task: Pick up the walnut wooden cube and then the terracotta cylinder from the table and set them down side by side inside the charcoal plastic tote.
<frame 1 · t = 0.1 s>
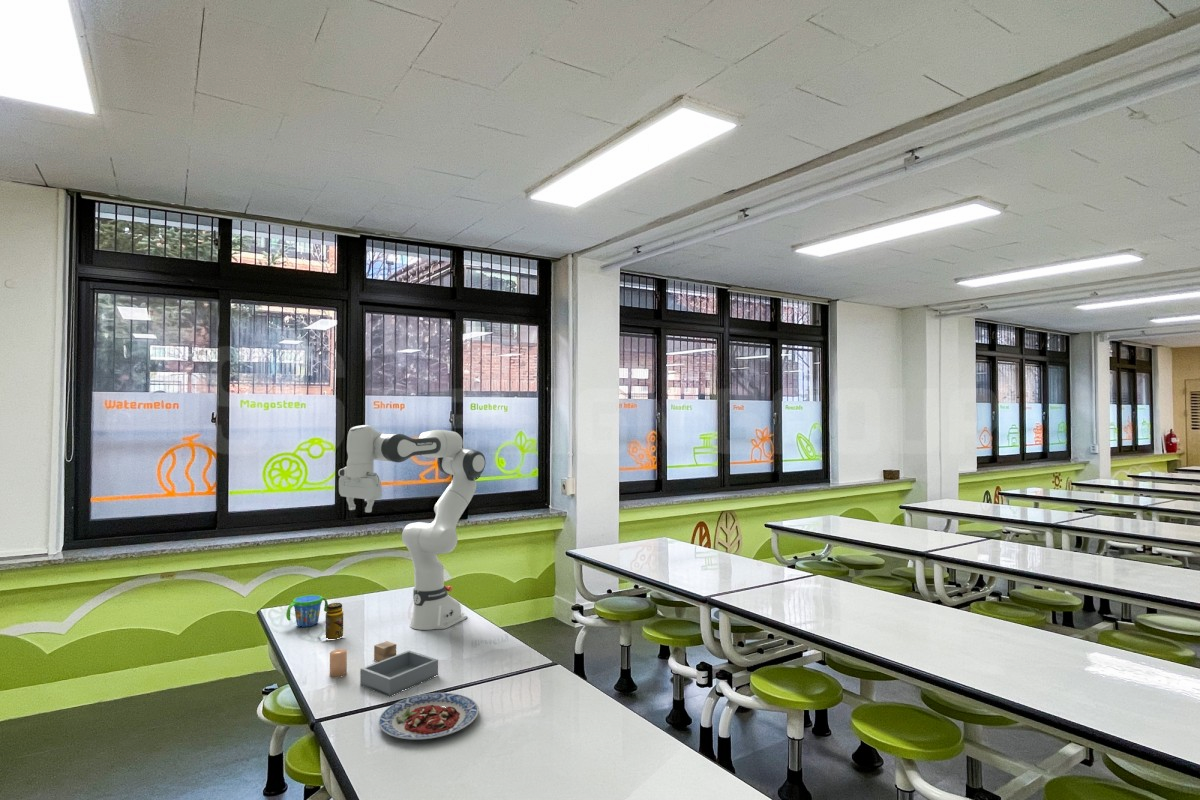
hand: (360, 511, 225), 48 cm above the table, tool pointing down, fingers open, 8 cm apart
tote: (399, 680, 197), on the table
snack cup: (307, 625, 250), on the table
ceramic plate: (429, 722, 171), on the table
walnut cube: (385, 659, 214), on the table
terracotta cylinder: (338, 674, 202), on the table
condiment: (331, 638, 235), on the table
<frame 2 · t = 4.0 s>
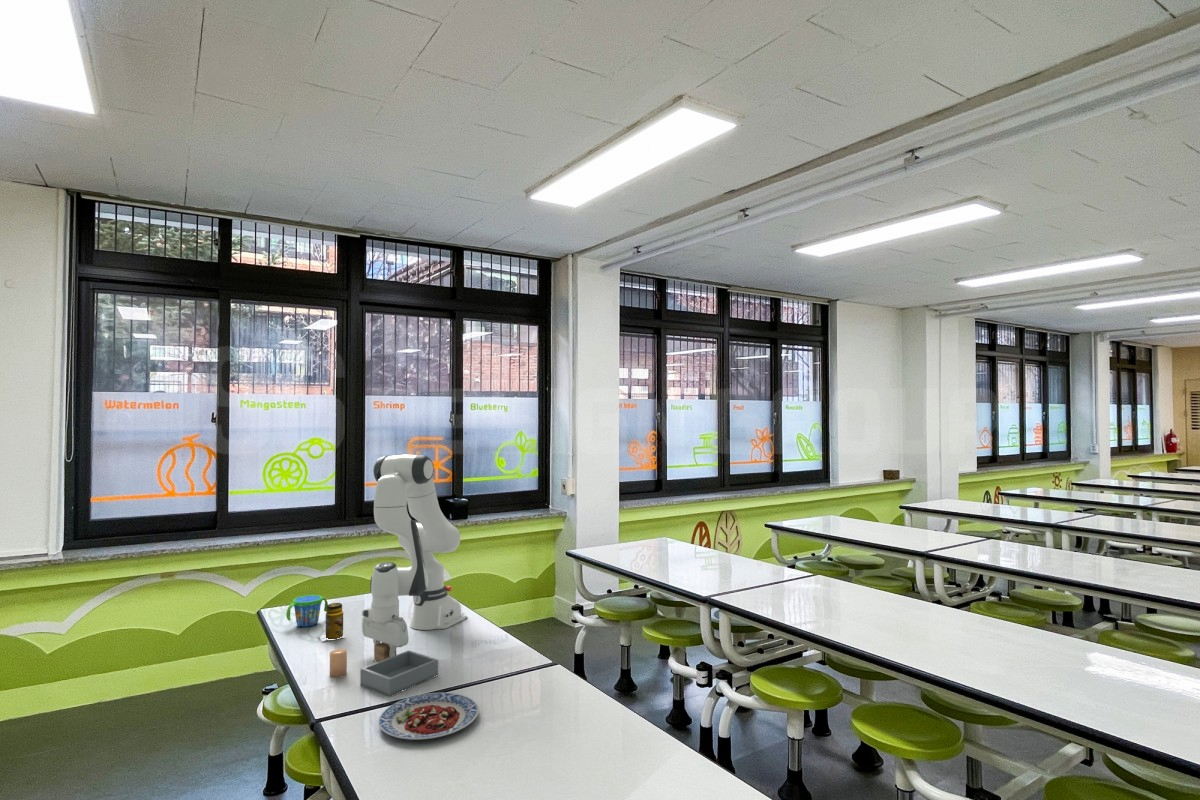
hand: (385, 654, 214), 2 cm above the table, tool pointing down, fingers closed on walnut cube, 5 cm apart
walnut cube: (385, 659, 214), on the table, touching gripper
everything else where it was.
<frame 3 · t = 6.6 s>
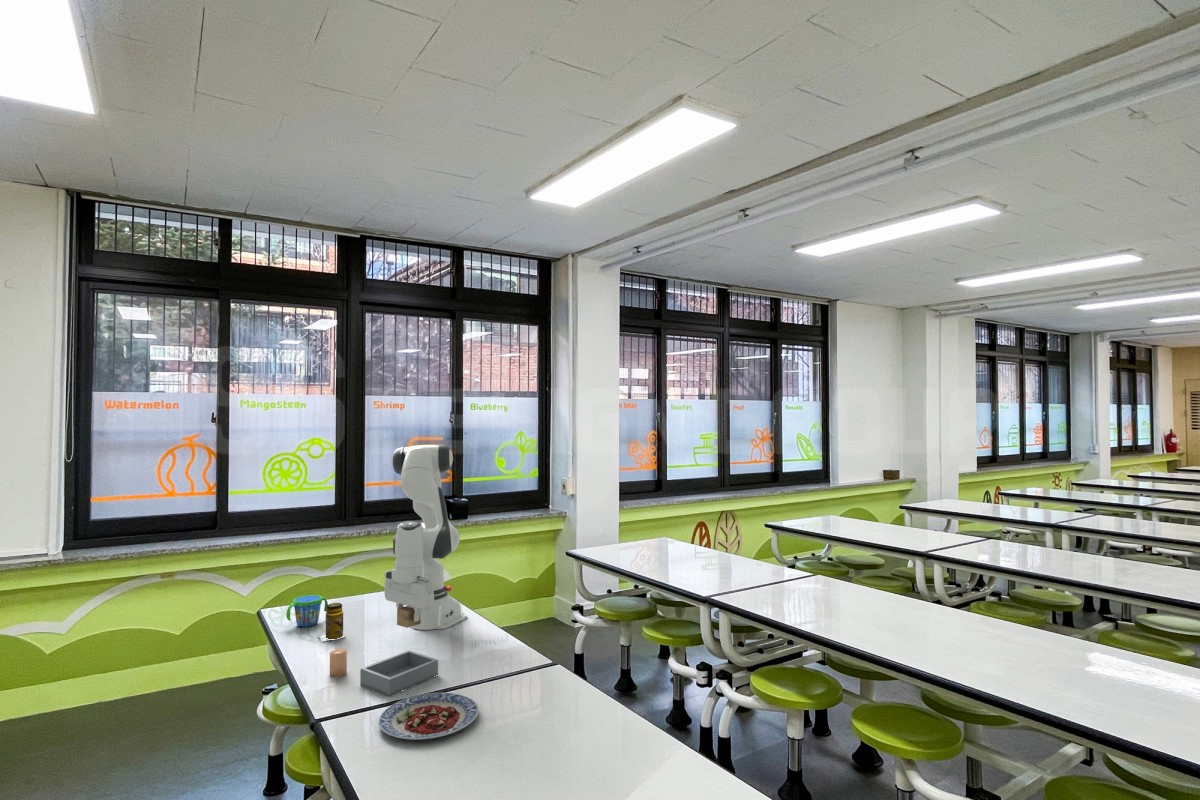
hand: (408, 619, 201), 18 cm above the table, tool pointing down, fingers closed on walnut cube, 5 cm apart
walnut cube: (408, 624, 201), point 16 cm above the table, touching gripper
everything else where it was.
when the fingers open (5 cm above the table, at t = 9.5 s): walnut cube drops 2 cm, resting on tote.
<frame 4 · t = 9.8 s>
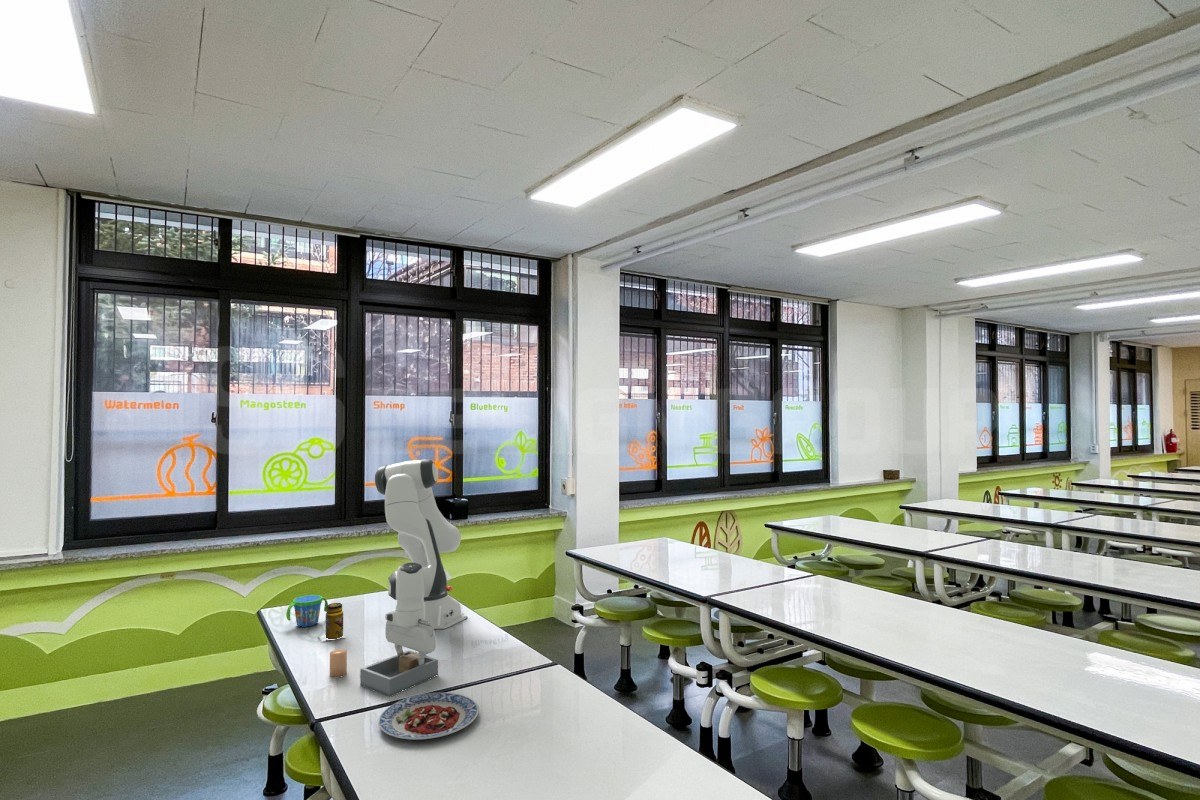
hand: (410, 661, 201), 5 cm above the table, tool pointing down, fingers open, 8 cm apart
walnut cube: (410, 673, 201), point 1 cm above the table, touching tote
everything else where it was.
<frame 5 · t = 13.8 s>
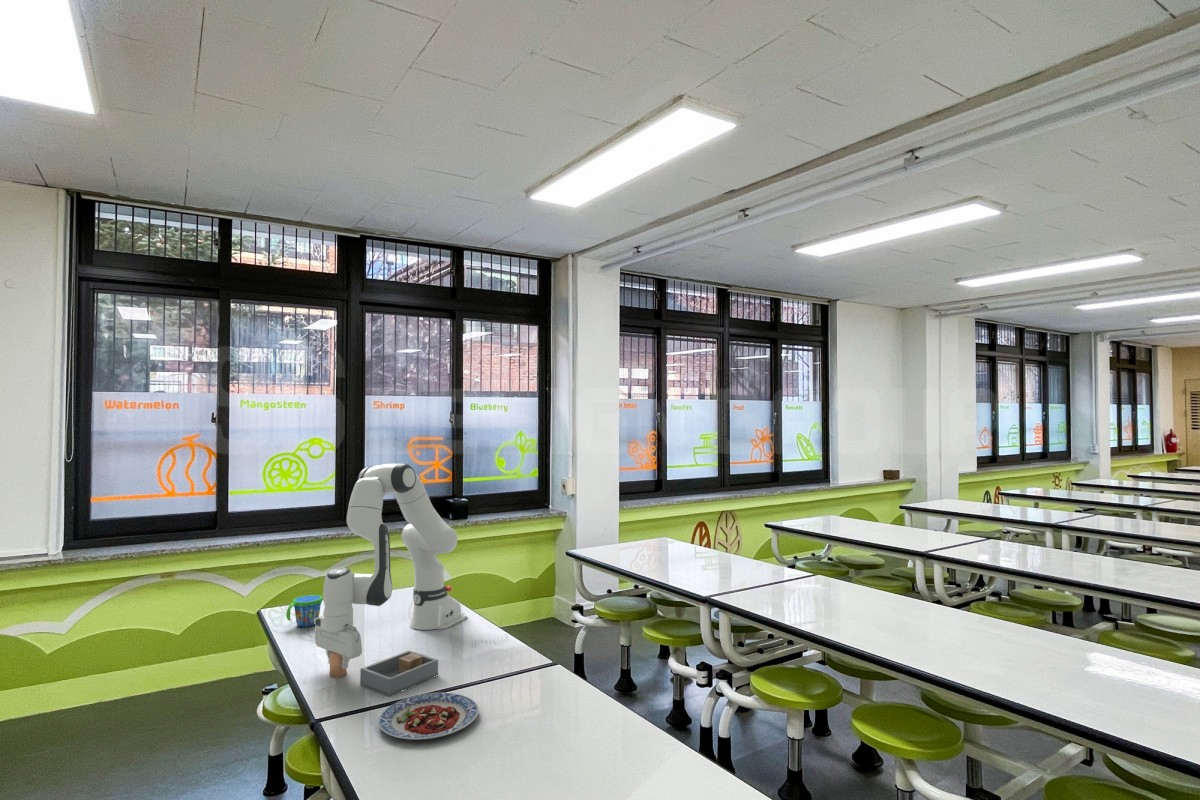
hand: (338, 665, 202), 3 cm above the table, tool pointing down, fingers closed on terracotta cylinder, 5 cm apart
terracotta cylinder: (338, 674, 202), on the table, touching gripper
everything else where it was.
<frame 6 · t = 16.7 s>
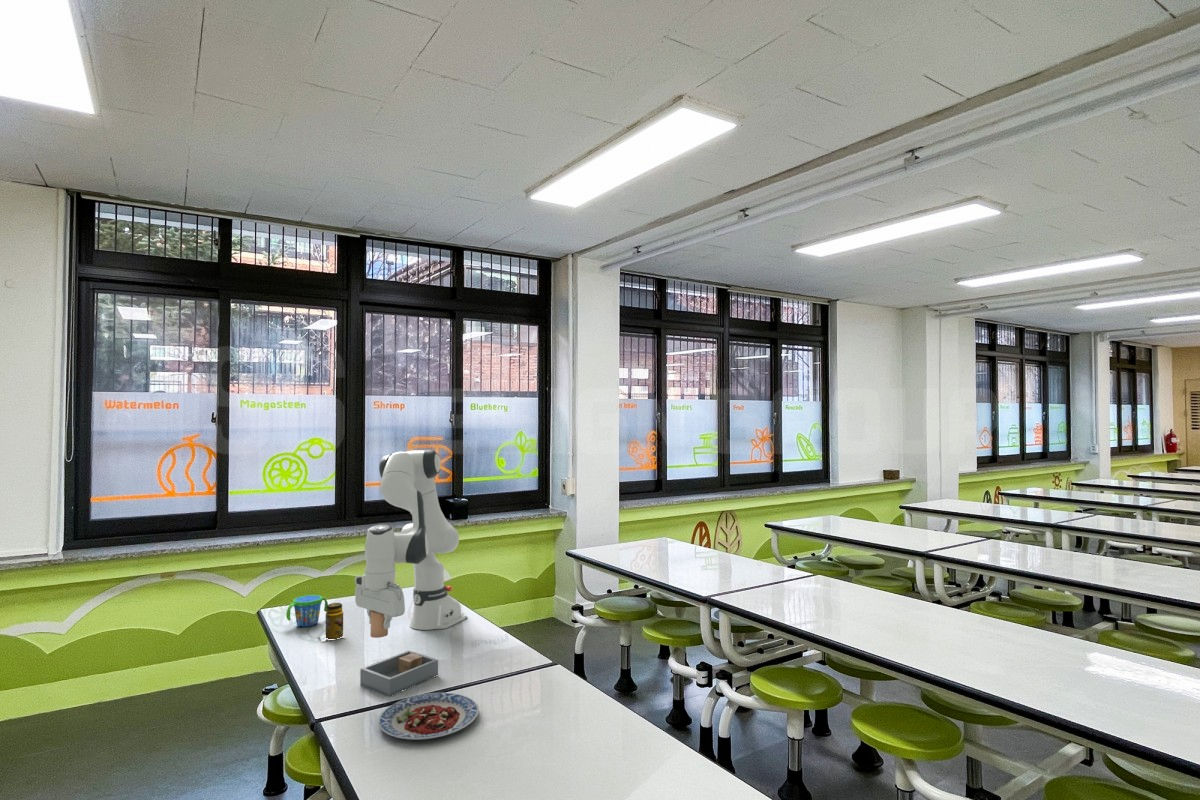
hand: (379, 626, 195), 18 cm above the table, tool pointing down, fingers closed on terracotta cylinder, 5 cm apart
terracotta cylinder: (379, 634, 194), point 15 cm above the table, touching gripper
everything else where it was.
when the fingers open (5 cm above the table, at t = 19.6 s): terracotta cylinder drops 2 cm, resting on tote.
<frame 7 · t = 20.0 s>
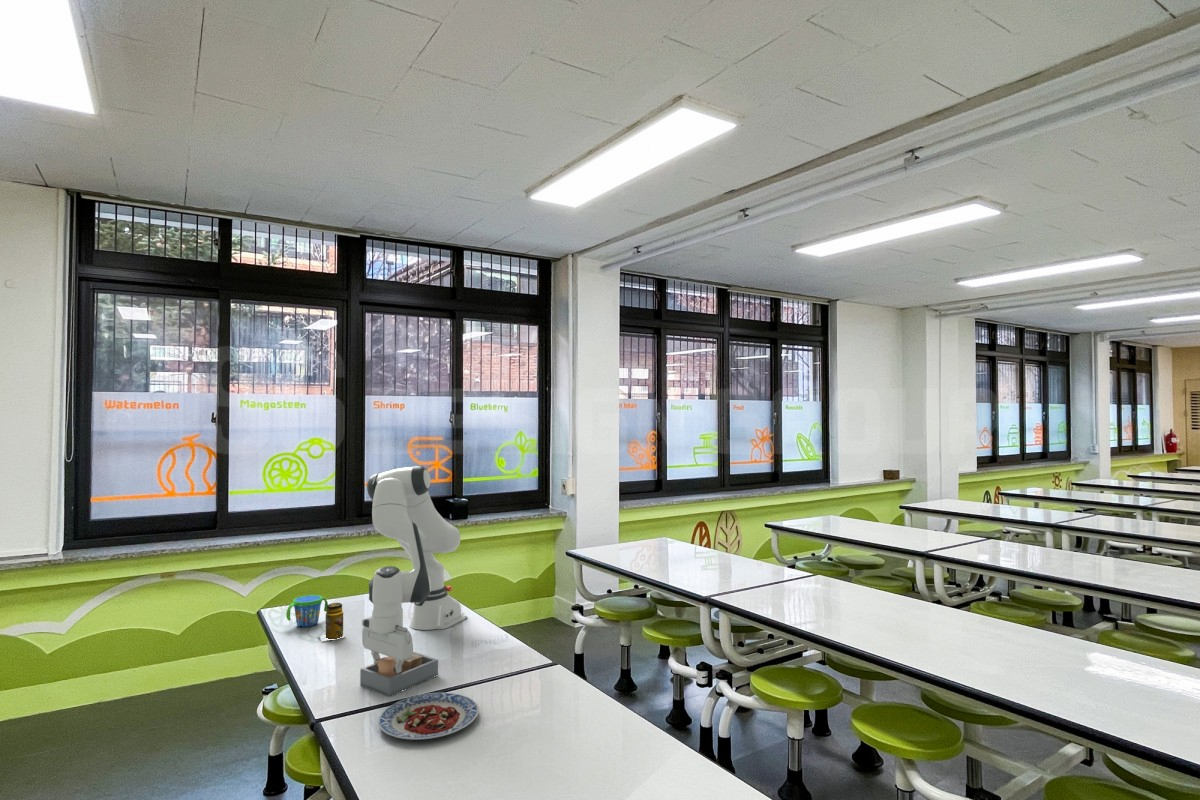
hand: (387, 668, 194), 5 cm above the table, tool pointing down, fingers open, 8 cm apart
terracotta cylinder: (387, 683, 194), point 1 cm above the table, touching tote
everything else where it was.
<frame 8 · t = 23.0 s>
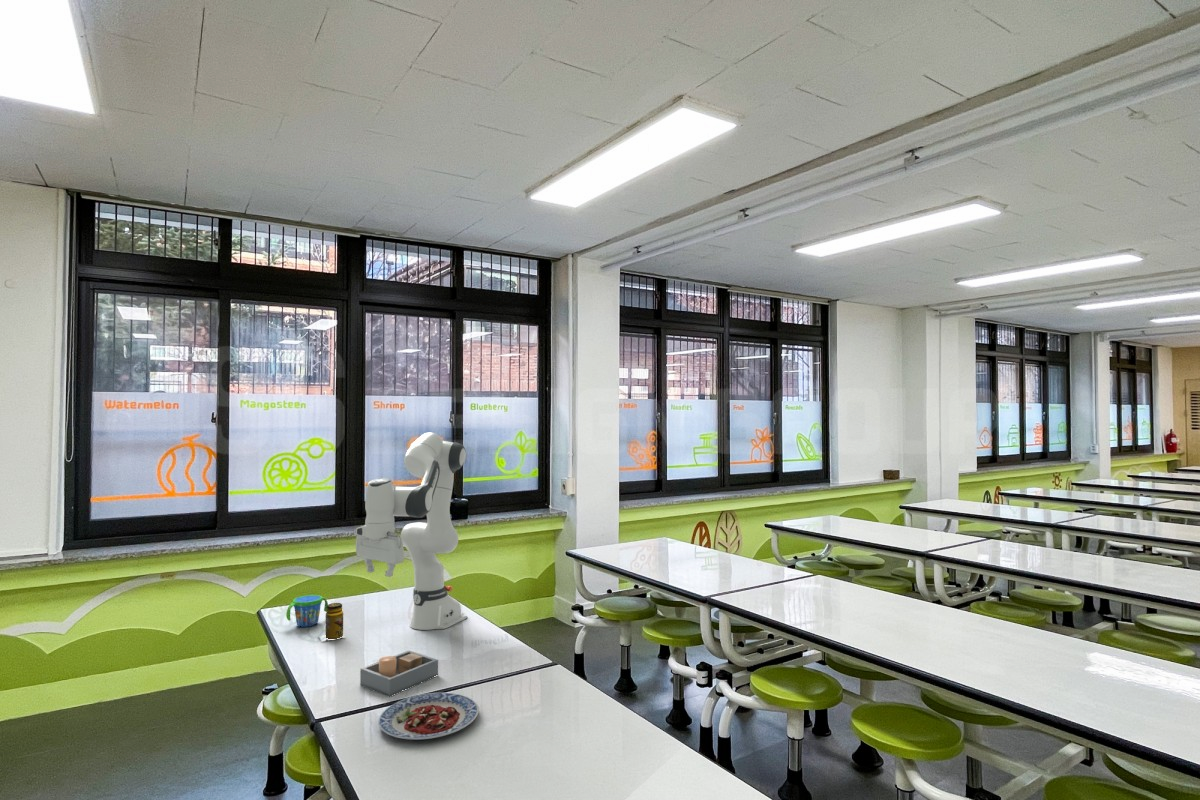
hand: (379, 574, 204), 31 cm above the table, tool pointing down, fingers open, 8 cm apart
nothing on the table moved.
at the end: walnut cube inside the target area on the tote (4.0 cm from its centre), point 0.8 cm above the tote's base; terracotta cylinder inside the target area on the tote (4.5 cm from its centre), point 0.9 cm above the tote's base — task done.
